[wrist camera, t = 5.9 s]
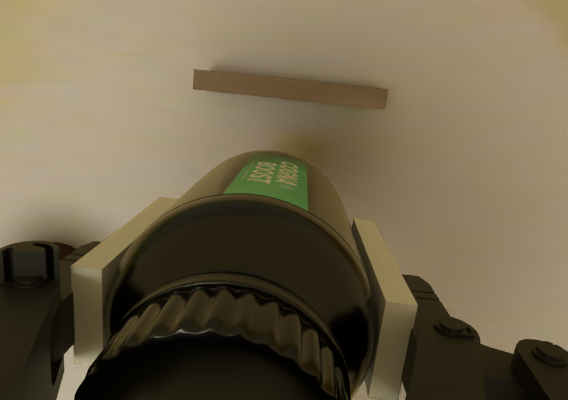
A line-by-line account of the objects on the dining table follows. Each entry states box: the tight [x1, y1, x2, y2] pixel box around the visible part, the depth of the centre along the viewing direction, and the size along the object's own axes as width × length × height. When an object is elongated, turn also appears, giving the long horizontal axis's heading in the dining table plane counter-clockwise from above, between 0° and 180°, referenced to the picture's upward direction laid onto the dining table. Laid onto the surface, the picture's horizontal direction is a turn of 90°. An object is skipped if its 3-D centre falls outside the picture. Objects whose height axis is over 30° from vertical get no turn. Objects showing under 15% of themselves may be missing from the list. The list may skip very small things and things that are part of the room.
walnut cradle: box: [193, 69, 388, 109], centre depth 29 cm, size 12×12×4 cm
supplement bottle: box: [74, 151, 377, 400], centre depth 13 cm, size 7×7×12 cm
